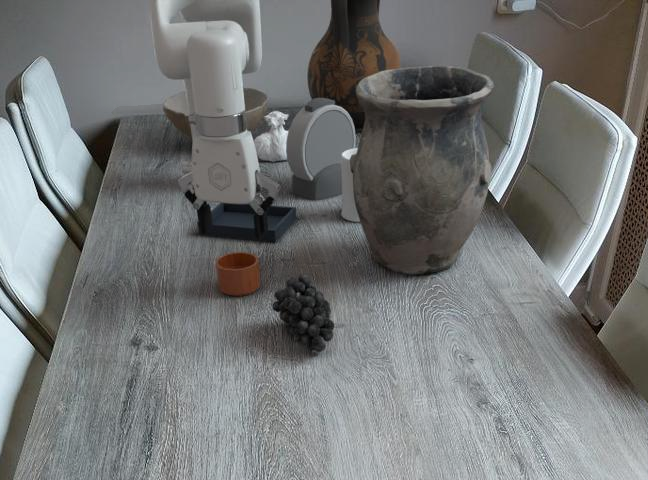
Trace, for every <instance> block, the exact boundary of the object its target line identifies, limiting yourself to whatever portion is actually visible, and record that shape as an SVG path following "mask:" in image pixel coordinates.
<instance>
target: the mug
mask: <svg viewBox="0 0 648 480" xmlns="http://www.w3.org/2000/svg"><path fill="white" fill-rule="evenodd" d="M357 150H358V147H355V148H354V149H349V150H346V151H344V152H343V153H342V154H341V162H342V193H341V202H342V203H341V204H342V205H341V212H340V215H341V217H342V218H343V219H344V220H347V221H350V222H353V223H361V222H360V219H359V216H358V213H357V209H356V205H355V200H354V192H353V173H352V172H351V167H350V158H351V155H354V154H356V153H357Z"/></svg>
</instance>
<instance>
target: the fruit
mask: <svg viewBox="0 0 648 480" xmlns="http://www.w3.org/2000/svg"><path fill="white" fill-rule="evenodd" d="M298 294H299V295H298ZM274 299H275V300H277V301H274V302H273V303H272V304H271V305H272V310H273V311H274V312H276V313H279V319H280V320H281V321H283V322H284V324H285V326H284V330H285V332H286V333H287V334H288V335H289V334H290V335H292V338H293V340H294V341H295V342H297V343H301V344H302V345H303V346H305V347H306V348H307V349H308V350H310V351H315V352H317V353H322V352H323V351H324V350H326V348H327V347H326V346H327V345H326V342H330V341H331V340H333V338H334V332H333V330H334V329H335V322H334V321H333V320H331V316H330V315H331V313H332V309H331V308H330V306H331V305H330V302H329V301H328V300H326V299H325V297H324V293H323V292H322V291H320V290H318V288H317V286H316V284H314V283H313V281H312V279H311V278H310V277H309V276H308V275H307V274H300V275H299V276H298V278H296V277H293V276H291V277H290V278H288V279H287V281H286V287H284V288H283V289H277V290H276V291H275V292H274Z"/></svg>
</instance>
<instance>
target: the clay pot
mask: <svg viewBox="0 0 648 480" xmlns="http://www.w3.org/2000/svg"><path fill="white" fill-rule="evenodd" d="M494 89H495V84H494V82H493V80H492V79H491V78H490V77H489V76H488V75H486V74H484V73H480V72H478V71H475V70H473V69H470V68H466V67H459V66H458V67H457V66H451V65H450V66H448V65H427V66H408V67H401V69H394V70H386V71H381V72H379V73H376V74H374V75H371V76H369V77H366V78H364V79H362V80H361V81H360V82H359V84H358V85H357V87H356V95H357V98H358V100H359V102H360V104H361V106H362V108H363V110H364V112H365V123H364V127H363V131H361V133H360V134H361V135H360V139H359V142H358V146H357V148H358V150H357V153H356V154H354V155H351V158H350V167H351V172H352V173H353V192H354V200H355V205H356V209H357V213H358V216H359V219H360V222H359V223H360V225H361V228H362V231H363V234H364V236H365V238H366V241H367V243H368V247H369V250H370V253H371V257H372V260H373V261H374V262H375V263H376V264H378V265H379V266H381V267H382V268H384V269H386V270H387V271H391V272H394V273H399V274H402V275H412V276H414V275H415V276H416V275H421V274H427V273H428V274H432V273H438V272H441V271H443V270H447V269H449V268H451V267H452V266H453V265H455V263H456V262H457V261H458V258H459V256H460V253H461V251H462V249H463V247H464V245H465V244H466V242H467V241H468V240H469V238H470V236H471V235H472V233H473V231H474V229H475V228H476V226H477V224H478V222H479V219H480V217H481V215H482V213H483V210H484V207H485V203H486V200H487V197H488V192H489V187H490V184H489V183H490V181H491V179H492V164H491V163H490V151H489V145H488V140H487V137H486V132H485V128H484V125H483V121H482V112H483V108H484V105H485V102H486V100H487V99H488V97H489V96H490V95H491V93H492V92H493V90H494Z"/></svg>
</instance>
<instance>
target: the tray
mask: <svg viewBox="0 0 648 480" xmlns="http://www.w3.org/2000/svg"><path fill="white" fill-rule="evenodd" d="M255 214H256V212H255V210H254V209H253V208H252V207H251V206H250V204H249V203H248V204H229V203H218V205H216V206H214V208H213V209H211V215H212V223H213V228H212V229H211V230H210V231H208V232H207V233H206V234H202V233H201V227H200V226H199V222H197V230H198V236H207V237H216V238H227V239H235V240H236V239H238V240H246V241H255V242H256V241H257V242H267V243H277V242H278V240H279V239H280V238H281V237H282V236H283V235H284V234H285V233H286V231H287V230H288V229H289V228H290V227H291V225H293V224H294V222H295V221H296V220H297V208H296V207H294V206H283V205H273V204H272V205H271V206H270V207H269V208H268V209H267V221H268V230H267V232H266V234H265V235H264V236H263V237H262V238H261V239H257V238H256V237H255V227H254V215H255Z"/></svg>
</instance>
